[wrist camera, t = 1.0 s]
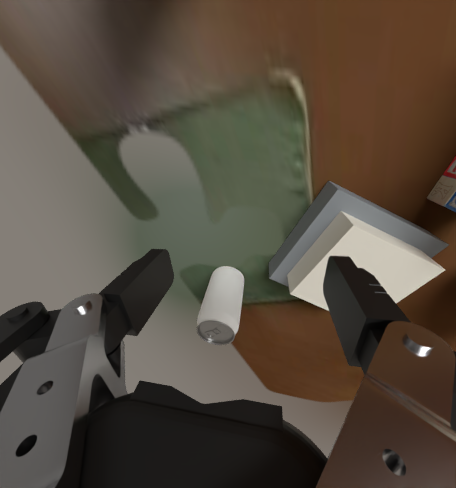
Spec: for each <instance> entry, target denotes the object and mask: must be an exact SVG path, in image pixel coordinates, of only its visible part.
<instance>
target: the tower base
mask: <svg viewBox="0 0 456 488" xmlns="http://www.w3.org/2000/svg"><path fill="white" fill-rule="evenodd" d="M447 246H448V244H447V243H445V242H444V241H442V240H441V239H439V238H438V237H436V236H435V235H433V234H432V233H430V232H429V231H427V230H425V229H423V228H421V227H419V226H417V225H415V224H414V223H412V222H410V221H408V220H406V219H404V218H402V217H400V216H398V215H396V214H394V213H392V212H390V211H388V210H386V209H384V208H382V207H380V206H378V205H376V204H374V203H372V202H370V201H368V200H366V199H364V198H362V197H360V196H358V195H356V194H354V193H352V192H350V191H348V190H346V189H344V188H342V187H340V186H338V185H336V184H334V183H332V182H330V181H328V182H327V183H326V185H325V186H324V188H323V189H322V190H321V192H320V193H319V194H318V196H317V197H316V199H315V200H314V201H313V203H312V204H311V206H310V207H309V208H308V210H307V211H306V212H305V214H304V215H303V217H302V218H301V219H300V221H299V222H298V224H297V225H296V226H295V228H294V229H293V230H292V232H291V233H290V235H289V236H288V237H287V239H286V240H285V241H284V243H283V244H282V246H281V247H280V248H279V250H278V251H277V253H276V254H275V255H274V257H273V258H272V259H271V261H270V262H269V278H270V279H272V280H274V281H276V282H279V283H281V284H283V285H285V286H288V287H289V291H290V294H291V295H293V296H296V297H298V298H300V299H303V300H305V301H307V302H309V303H312V304H314V305H316V306H319V307H321V308H323V309H325V310H328V311H329V309H328V306H327V303H326V300H325V298H324V294H323V282H324V277H325V272H326V267H327V262H328V258H329V257H330V256H349V257H350V258H351V259H352V261H353V262H354V263H355V265H356V266H357V268H363V269H365V270H366V271H368V272H369V273H371V274H372V275H374V276H375V278H376V279H377V280H378V281H379V283H380V284H381V286H382V287H383V288H384V289H385V290H386V292H387V294H389V295H390V297H391V298H392V299H393V301H394V302H395V303H397V302H399V301H400V300H402V299H403V298H405V297H406V296H408V295H409V294H411V293H412V292H414V291H415V290H417V289H418V288H420V287H421V286H423V285H424V284H426V283H427V282H428V281H430V280H431V279H433V278H434V277H436V276H437V275H439V274H440V273H442V272H443V271H445V269H444V268H442V267H441V266H440V265H439V264H437V263H436V262H435V261H434V260H432V259H431V258H432V257H433V256H435V255H436V254H437V253H439V252H440V251H441V250H443V249H444V248H446V247H447Z"/></svg>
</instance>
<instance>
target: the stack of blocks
mask: <svg viewBox="0 0 456 488" xmlns="http://www.w3.org/2000/svg"><path fill="white" fill-rule="evenodd" d="M427 199H429V200H431V201H433V202H435V203H437V204H439V205H441V206H444V207H446V208H448V209H450V210H452V211H454V212H456V156H455V157H454V159H453V160H452V162H451V163H450V165H449V166H448V168H447V169H446V171H445V172H444V174H443V175H442V176H441V178H440V179H439V181H438V182H437V183H436V185H435V186H434V188H433V189H432V191H431V192H430V194H429V195H428V197H427Z"/></svg>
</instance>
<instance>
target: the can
mask: <svg viewBox="0 0 456 488" xmlns="http://www.w3.org/2000/svg"><path fill="white" fill-rule="evenodd" d="M243 289H244V277H243V275H242V273H241V272H240V271H238V270H237V269H235V268H233V267H230V266H223V267H219V268H217V269H215V270H214V272H213V273H212V276H211V279H210V281H209V284H208V287H207V290H206V293H205V296H204V299H203V302H202V305H201V308H200V311H199V314H198V318H197V324H198V326H197V333H198V335H199V336H200V337H201V338H202V339H203V340H204V341H206V342H208V343H211V344H215V345H226V344H229V343H231V342H232V341H233V340H234V338H235V334H236V333H237V331H238V328H239V322H240V314H241V306H242V297H243Z"/></svg>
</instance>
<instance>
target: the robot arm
mask: <svg viewBox="0 0 456 488" xmlns="http://www.w3.org/2000/svg"><path fill="white" fill-rule="evenodd" d="M173 279H174V273H173V269H172V265H171V260H170V257H169V253H168V251H167V250H166V249H151V250H150V251H149V252H148V253H147V254H146V255H145V256H143V257H142V258H141V259H139V260H137V261H135V262H133V263H132V264H131V265H130V266H129V267H128V268H127V269H126V270H125V271H123V272H122V273H121V275H119V276H118V277H117V278H115V279H114V280H113V281H112V282H111V283H110V284H109V285H108V286H106V287H105V288H104V289H103V290H102V291H101V292H100V293H99V294H95V293H93V294H87V295H83V296H81V297H78V298H76V299H74V300H72V301H71V302H69V303H68V304H67V305H66V306H65V307H64V308H62V309H60V310H54V311H47V310H46V309H45V307H44V305H43V304H42V303H41V302H30V303H26V304H23V305H20V306H18V307H15V308H13V309H11V310H10V311H8V312H6V313H5V314H3V315H1V316H0V362H1V361H2V360H3V359H4V358H5V357H7V356H8V355H9V354H10V353H11V352H12V351H13V352H14V353H15V354H16V355H17V356H18V357H19V359H20V360H21V361H22V362H23V364H22V365H21V366H20V367H19V368H18V369H17V370H16V371H14V372H13V373H12V374H11V375H10V376H9V377H8V378H7V379H6V380H5V381H4V382H3V383H2V384H1V385H0V488H456V352H455V351H453V350H452V349H451V347H450V346H449V345H448V344H447V343H446V342H445V341H444V340H443V339H442V338H440V337H439V336H438V335H436V334H435V333H433V332H432V331H430V330H428V329H426V328H424V327H422V326H419V325H417V324H414V323H411V322H410V321H409V320H408V318H407V317H406V316H405V314H404V313H403V312H402V311H401V309H400V308H399V307H398V306H397V304H396V303H395V302H394V301H393V299H392V298H391V297H390V295H389V294H387V292H386V290H385V289H384V288H383V287H382V286H381V284H380V283H379V281H378V280H377V279H376V278H375V276H374V275H372V274H371V273H369V272H368V271H366V270H365V269H363V268H357V266H356V265H355V263H354V262H353V261H352V259H351V258H350V257H349V256H330V257H329V258H328V262H327V267H326V272H325V277H324V282H323V294H324V298H325V300H326V303H327V306H328V309H329V311H330V314H331V317H332V320H333V323H334V325H335V328H336V331H337V334H338V337H339V339H340V342H341V345H342V348H343V350H344V353H345V356H346V359H347V362H348V364H349V365H350V366H357V367H362V370H363V372H364V375H365V376H364V378H363V380H362V382H361V384H360V387H359V389H358V391H357V393H356V396H355V398H354V400H353V403H352V405H351V407H350V409H349V412H348V414H347V416H346V418H345V421H344V423H343V425H342V427H341V429H340V432H339V434H338V436H337V438H336V440H335V443H334V445H333V447H332V450H331V452H330V454H329V456H328V458H326V456H325V455H324V454H323V453H322V451H321V450H320V449H319V448H318V447H317V446H316V445H315V444H314V443H313V442H312V441H311V440H310V439H309V438H308V437H307V436H306V435H305V434H303V433H302V432H301V431H300V430H299V429H297V428H296V427H294V426H293V425H291V424H290V423H288V422H286V421H284V420H283V418H282V406H277V405H271V404H266V403H260V402H255V401H249V400H244V399H242V400H234V401H226V402H218V403H210V404H202V403H199V402H198V401H196V400H194V399H192V398H191V397H189V396H187V395H185V394H184V393H182V392H180V391H179V390H177V389H175V388H173V387H172V386H167V385H162V384H156V383H151V382H145V381H139V384H138V385H137V387H136V389H135V391H134V393H130V394H127V391H126V386H125V356H124V355H125V352H124V342H123V338H124V337H125V335H133V336H137V335H138V334H139V332H140V331H141V329H142V328H143V326H144V325H145V324H146V322H147V321H148V319H149V318H150V316H151V315H152V313H153V312H154V310H155V309H156V307H157V306H158V304H159V303H160V301H161V300H162V298H163V297H164V295H165V294H166V292H167V291H168V289H169V288H170V287H171V285H172V283H173Z"/></svg>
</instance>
